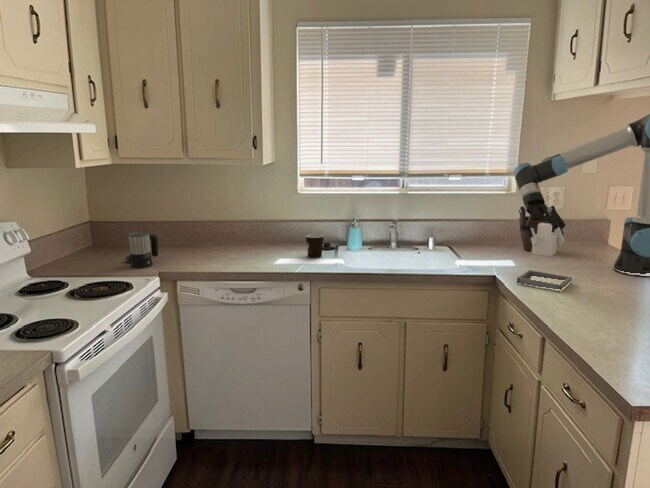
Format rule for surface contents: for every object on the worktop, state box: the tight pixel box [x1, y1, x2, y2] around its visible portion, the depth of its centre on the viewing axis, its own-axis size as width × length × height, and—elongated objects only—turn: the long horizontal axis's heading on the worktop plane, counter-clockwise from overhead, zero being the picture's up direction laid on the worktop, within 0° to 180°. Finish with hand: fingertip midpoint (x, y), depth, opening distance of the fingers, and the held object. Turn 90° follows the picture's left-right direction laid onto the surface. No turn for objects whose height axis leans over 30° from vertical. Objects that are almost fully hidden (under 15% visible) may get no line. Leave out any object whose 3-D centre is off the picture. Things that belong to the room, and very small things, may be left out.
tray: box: [516, 269, 573, 290], centre depth 188 cm, size 16×14×2 cm
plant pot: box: [518, 215, 547, 252], centre depth 240 cm, size 15×15×16 cm
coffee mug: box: [305, 233, 325, 259], centre depth 232 cm, size 12×9×10 cm
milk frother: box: [125, 230, 159, 269], centre depth 218 cm, size 14×16×15 cm
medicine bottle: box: [530, 222, 558, 257], centre depth 186 cm, size 7×7×12 cm
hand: (548, 244), depth 184 cm, fingers closed on medicine bottle, 10 cm apart
